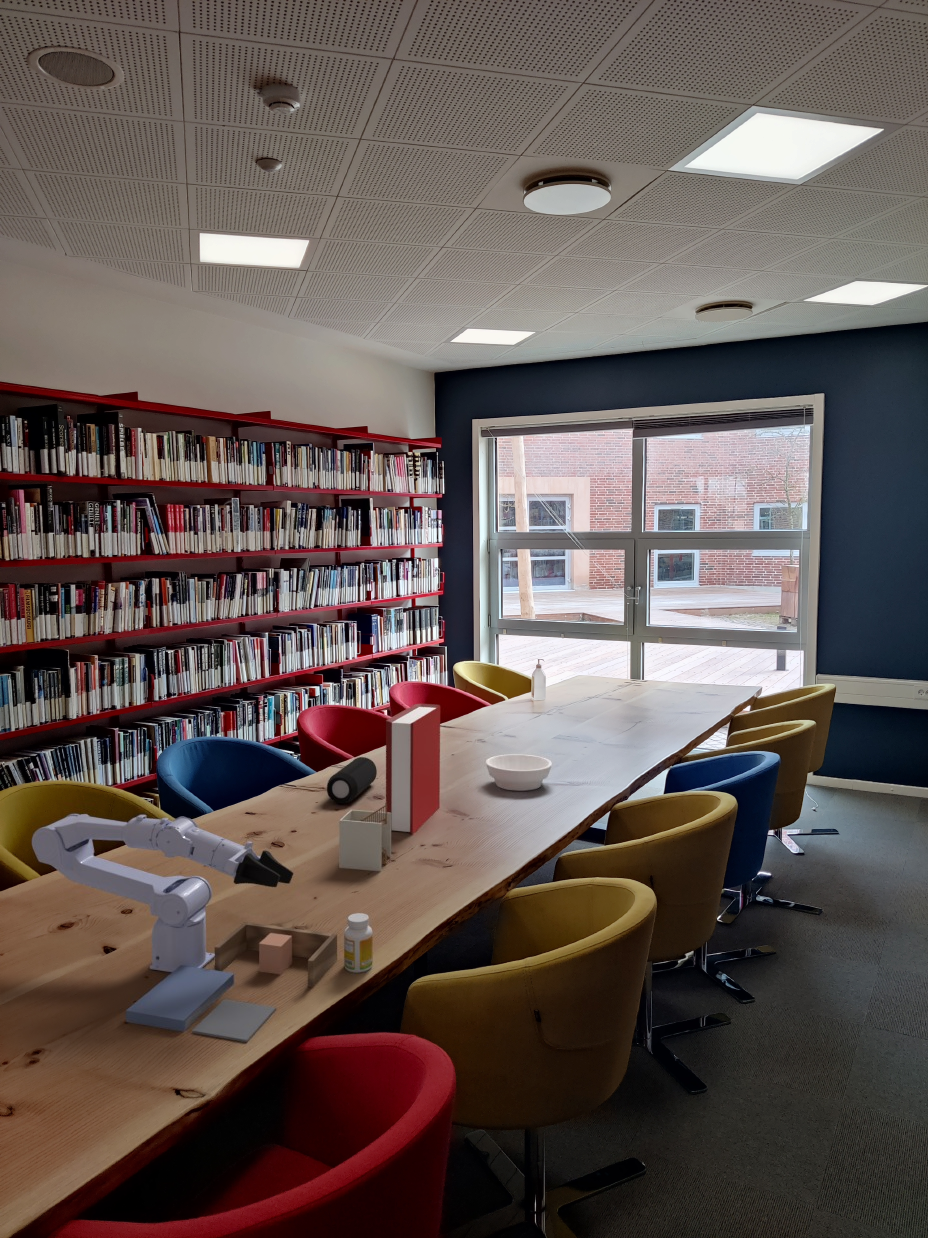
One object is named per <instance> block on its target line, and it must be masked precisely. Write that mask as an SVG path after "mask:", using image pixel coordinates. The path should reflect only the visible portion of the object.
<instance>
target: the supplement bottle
mask: <svg viewBox="0 0 928 1238" xmlns="http://www.w3.org/2000/svg"><path fill="white" fill-rule="evenodd" d="M369 923H370V918H369V915H368V914H366V913H363V912H361V913H360V912H356V913H352V914H350V915H348V917H347V927H346V928H345V929H344V932H343V945H344V946H343V948H344V949H343V950H344V951H343V953H344V954H343V961H344V962H343V964H344V965H343V966H344V969H345V970H346V971H348V972H349V973H358V974H359V973H364V972H367V971H369V970H371V968H372V967H373V958H374V957H373V956H374V955H373V954H374V953H373V938H374V937H373V929H372V927H371V926H370V925H369Z"/></svg>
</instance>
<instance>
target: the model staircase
mask: <svg viewBox="0 0 928 1238" xmlns="http://www.w3.org/2000/svg"><path fill="white" fill-rule="evenodd" d="M384 803H385V804H384V805H382V807H380V808H379V809H376V810H375V811H373V810H360V809H359V810H358V809H350V810H349V811H347V813H346V814H344V816H343V817H341V818H340V819H339V821H338V822H339V824H338V829H339V832H338V834H339V835H338V836H339V837H338V841H339V843H338V844H339V852H338V856H339V857H338V858H339V859H338V860H339V861H338V864H339V865H338V866H339V868H340V869H349V870H350V869H351V870H363V871H373V872H382V865H384V866H386V865H387V864H388V862H390V860H392V830H391V813H387V802H386V801H385V802H384Z"/></svg>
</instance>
